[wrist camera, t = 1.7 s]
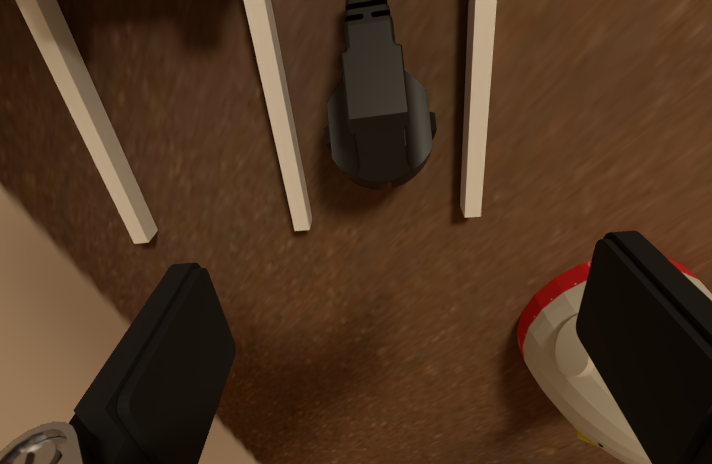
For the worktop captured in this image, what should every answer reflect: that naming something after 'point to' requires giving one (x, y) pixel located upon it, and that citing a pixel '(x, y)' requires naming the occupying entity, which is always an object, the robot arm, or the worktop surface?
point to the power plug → (377, 104)
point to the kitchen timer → (576, 365)
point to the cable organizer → (114, 168)
